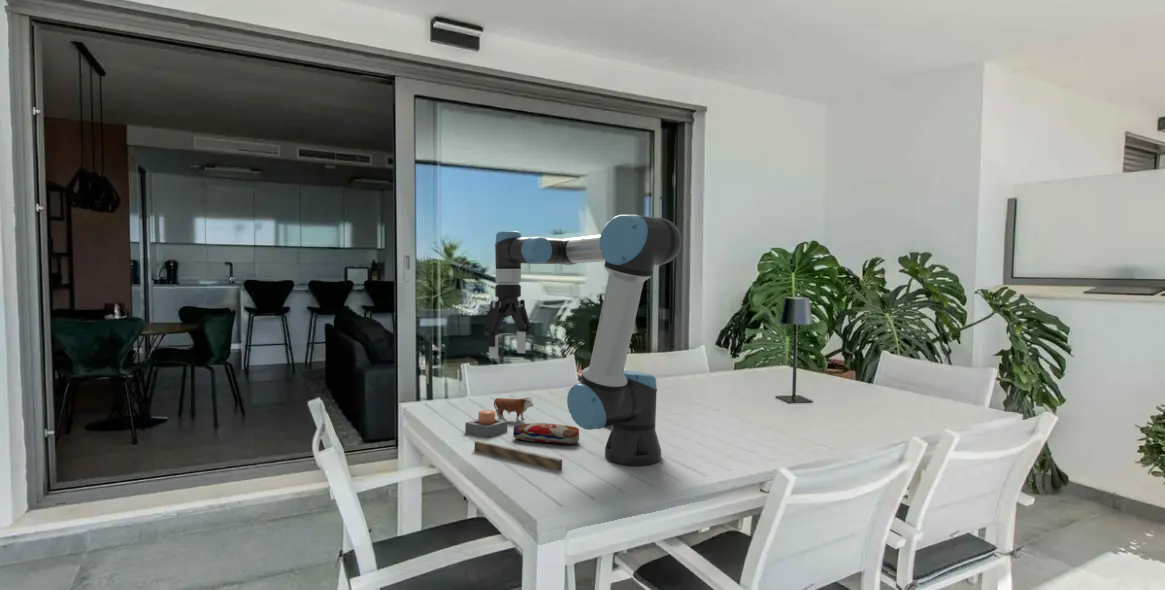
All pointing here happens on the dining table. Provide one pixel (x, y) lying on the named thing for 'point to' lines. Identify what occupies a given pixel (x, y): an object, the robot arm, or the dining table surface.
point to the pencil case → (546, 433)
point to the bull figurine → (512, 406)
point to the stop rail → (519, 455)
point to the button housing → (486, 428)
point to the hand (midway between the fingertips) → (507, 355)
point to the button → (486, 417)
